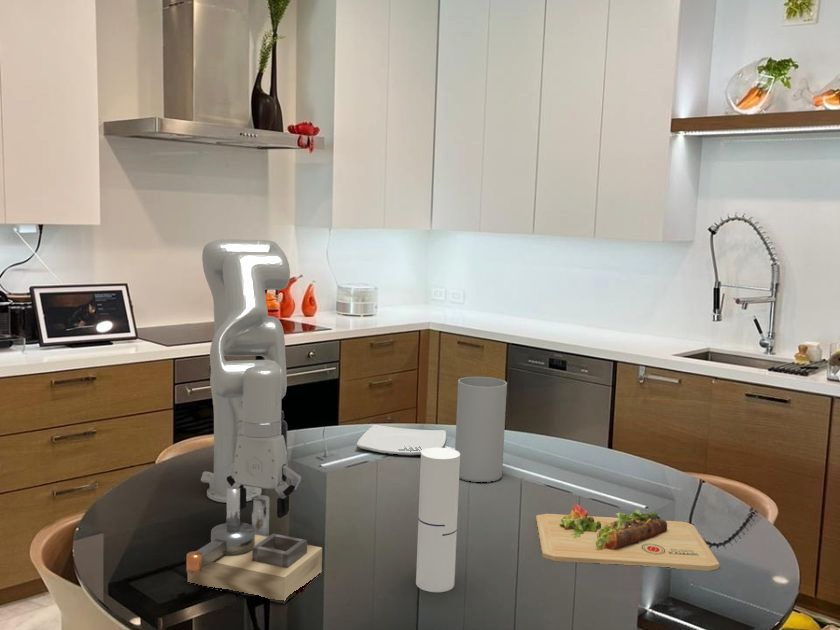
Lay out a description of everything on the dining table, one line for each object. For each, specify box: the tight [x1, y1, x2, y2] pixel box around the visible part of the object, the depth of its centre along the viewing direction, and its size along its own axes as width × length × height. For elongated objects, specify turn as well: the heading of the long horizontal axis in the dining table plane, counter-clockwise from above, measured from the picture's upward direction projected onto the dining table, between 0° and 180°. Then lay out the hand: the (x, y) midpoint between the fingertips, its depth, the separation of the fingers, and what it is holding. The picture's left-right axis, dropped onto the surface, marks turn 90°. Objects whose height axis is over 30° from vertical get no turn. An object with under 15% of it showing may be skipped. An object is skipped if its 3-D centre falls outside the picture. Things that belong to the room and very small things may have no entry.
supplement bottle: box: [281, 409, 288, 453], centre depth 231 cm, size 7×7×12 cm
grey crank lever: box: [186, 487, 255, 574], centre depth 153 cm, size 8×17×11 cm, turn 159°
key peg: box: [251, 494, 270, 537], centre depth 171 cm, size 3×3×10 cm
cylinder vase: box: [454, 376, 508, 484], centre depth 219 cm, size 12×12×25 cm
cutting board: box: [535, 504, 720, 572], centre depth 179 cm, size 35×23×8 cm
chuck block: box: [187, 533, 323, 601], centre depth 156 cm, size 20×14×8 cm
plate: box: [356, 424, 447, 456], centre depth 246 cm, size 24×24×3 cm
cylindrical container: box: [415, 447, 460, 593], centre depth 155 cm, size 7×7×25 cm
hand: (261, 512), depth 169 cm, fingers open, 9 cm apart
